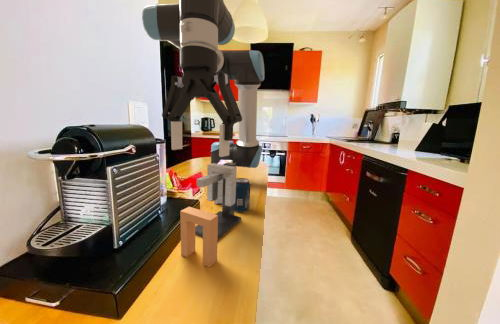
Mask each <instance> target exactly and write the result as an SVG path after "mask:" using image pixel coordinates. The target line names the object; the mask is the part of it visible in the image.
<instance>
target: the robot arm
mask: <svg viewBox="0 0 500 324" xmlns="http://www.w3.org/2000/svg"><path fill="white" fill-rule="evenodd" d="M178 1H179V2H178V3H167V4H166V3H164V4H163V3H162V4H159V3H156V4H151V5H146V6H144V8H142V12H141V21H142V26H143V29H144V31H145V33H146V35H147V36H148V37H149V38H150V39H152V40H153V41H160V42H163V41H165V42H166V41H167V42H168V43H170V44H172V45H173V46H175V47H176V48H178V49H179V67H180V68H181V70H182V72H183V73H182V77H181V76H177V75H172V76H171V78H170V87H169V91H168V95H167V97H166V101H165V105H164V108H163V111H162V113H161V116H162V118H163V119H166V120H168V121H169V136H170V137H171V138H170V139H171V141H170V143H171V146H170V147H171V150H172V151H176V150H183V121H182V120H181V117H182V116H183V114H185V112H186V110H187V108H188V106H189V104H190V103H191V102H192V101H193V100H194V99H195V98H196V99H200V98H205V99H207V100H208V101H209V103H210V105H211V107H212V108H213V109H214V111H215V112H216V114H217V115H218V117H219V119H220V120H221V122H222V123H221V124H219V133H218V134H219V137H218V138H219V139H218V140H219V141H215V142H213V143H212V144H211V147H210V149H211V150H210V164H212V163H215V164H218V163H219V161H220V160H233V163H236V167H238V168H240V167H241V168H247V169H248V168H249V169H252V168H253V169H256V168H258V167H259V165H260V160H261V157H262V150H263V146H262V145H260V141H258V139H257V116H258V115H257V113H258V112H257V111H258V110H257V109H258V88H260V86H261V84H262V82H264V80H265V74H266V73H265V62H264V56H263V54H262V52H261V51H260V50H252V49H249V50H246V49H245V50H222V49H221V50H220V49H219V46H225V45H228V43H230V42H231V41H232V40H233V37H234V36H235V32H236V27H235V21H234V19H233V16H232V13H231V12H230V11H229V10H228V8H227V6H226V5H225V1H224V0H178ZM231 81H234V86H236V88H237V90H238V92H237V93H238V94H237V95H238V101H237V100H236V98H235V96H234V93H233V90H232V87H231ZM216 85H218V89H219V91H220V94H221V96H222V99H223V100H222V99H221V97H220V94H219V93H218V91H217V89H216V88H215V87H216ZM223 102H224V103H223ZM236 123H238V140H236V141H235V143H234V140H233V137H234V125H235V124H236Z"/></svg>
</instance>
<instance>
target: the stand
mask: <svg viewBox="0 0 500 324" xmlns="http://www.w3.org/2000/svg"><path fill="white" fill-rule="evenodd" d="M223 165H227V166H233V167H237V166H236V163H229V162H228V163H224V164H223ZM222 179H223V199H222V205H221V207H222V208H221V211H220V210H219V211H217V212H216V213H214V214H215V215H218V240H219V239H221V238H222V237H223V236H224V235H225V234H227V233H228V232H229V231H230V230H231V229H233V228H234V227H235V226H236V225H237V224H239V223H240V222H241V221H242V216H238V215H235V211H234V204H233V205H232V206H227V205H225V184H226V174H222V173H213V174H210V175H205V176H201V177H199V178H196V187H198V188H199V187H200V188H205V187H207V185H210V184H212V183H215V182H217V181H220V180H222ZM196 235H197V236H199V237H201V238H203V226H201V225H198V224H196V225H195V236H196Z"/></svg>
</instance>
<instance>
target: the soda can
mask: <svg viewBox="0 0 500 324" xmlns="http://www.w3.org/2000/svg"><path fill="white" fill-rule="evenodd" d="M250 200H251V183H250V179H248V178H245V177H244V178H243V177H240V178H239V177H238V178H237V177H236V198H235V204H234V212H236V213H245V212H247V211H248V210H249V208H250V204H251V203H250Z"/></svg>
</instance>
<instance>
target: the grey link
mask: <svg viewBox="0 0 500 324" xmlns="http://www.w3.org/2000/svg"><path fill="white" fill-rule="evenodd" d="M237 172H238V171H237V166H236V167H233V166H227V165H221V164H215V163H212V164H211V163H209V164H207V172H206V173H207V175H210V174H213V173H222V174H226V184H225V205H227V206H232V205H233V204H235V198H236V179H237ZM207 175H206V176H207ZM206 188H207V189H206V196H207V197H206V198H207V199H206V200H207V201H208V202H214V201H215V200H216V199H218V181H217V182H215V183H212V184H210V185H207V186H206Z"/></svg>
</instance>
